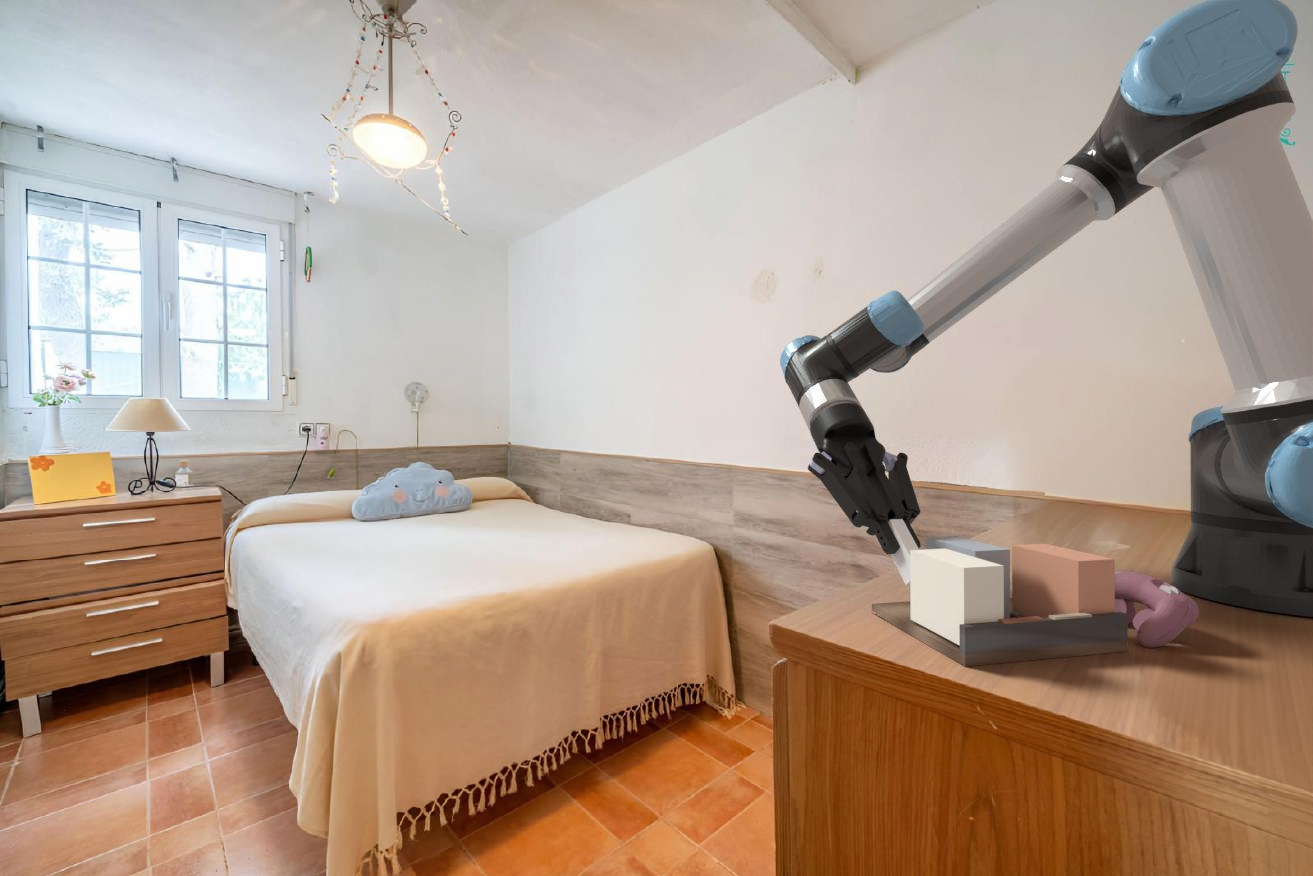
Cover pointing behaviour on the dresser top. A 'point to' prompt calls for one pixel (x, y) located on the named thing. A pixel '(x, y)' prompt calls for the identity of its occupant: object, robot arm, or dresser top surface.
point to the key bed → (1019, 635)
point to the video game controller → (1153, 607)
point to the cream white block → (954, 591)
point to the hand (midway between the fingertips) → (918, 578)
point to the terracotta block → (1060, 581)
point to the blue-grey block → (981, 552)
